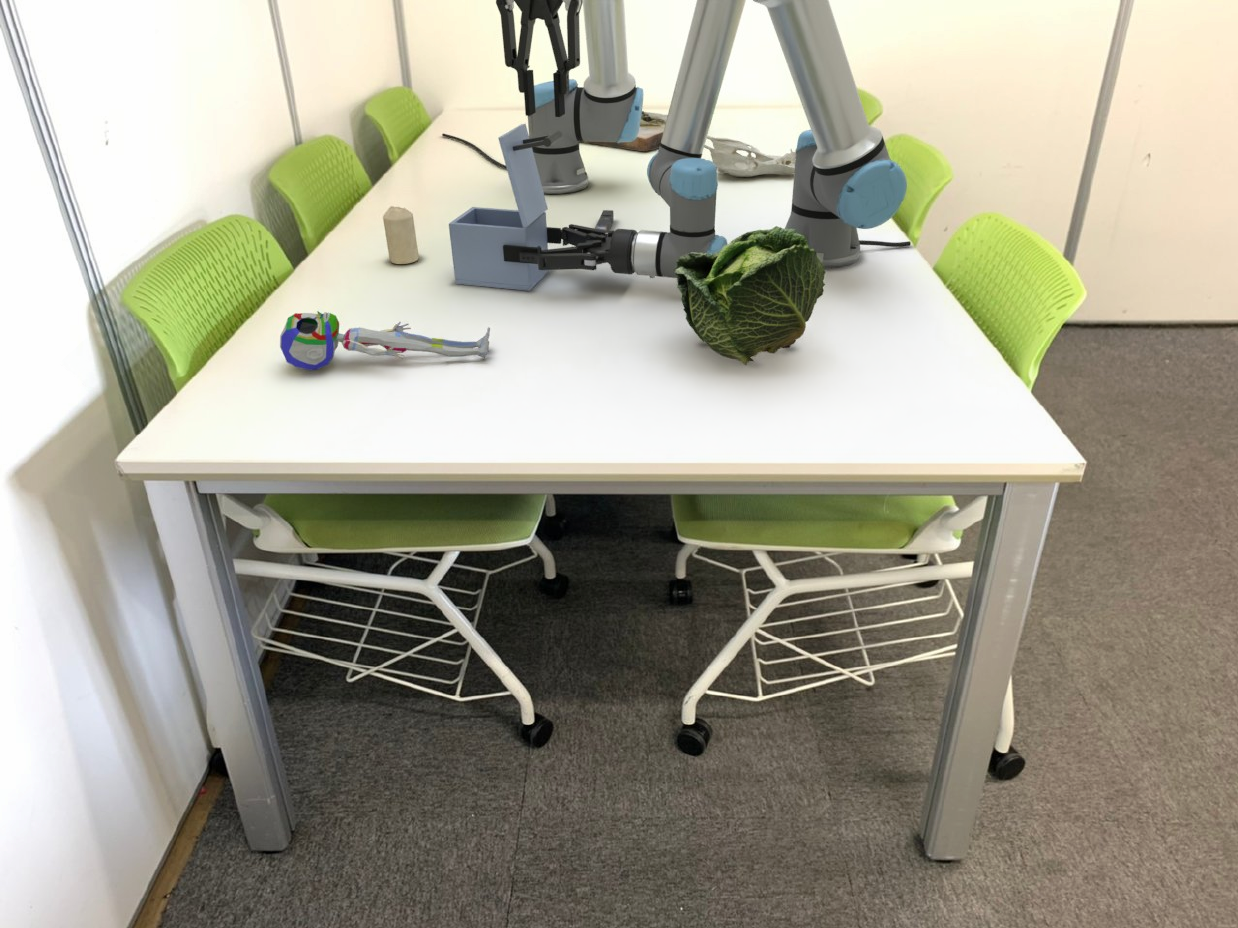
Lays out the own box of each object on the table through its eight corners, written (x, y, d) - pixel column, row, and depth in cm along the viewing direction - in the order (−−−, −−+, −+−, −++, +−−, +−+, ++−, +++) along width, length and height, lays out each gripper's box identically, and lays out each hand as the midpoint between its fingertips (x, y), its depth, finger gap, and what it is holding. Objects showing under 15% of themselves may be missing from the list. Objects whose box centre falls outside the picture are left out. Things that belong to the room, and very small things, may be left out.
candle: (424, 256, 173) (417, 204, 168) (409, 265, 169) (401, 213, 164) (399, 253, 175) (391, 202, 170) (384, 262, 171) (375, 210, 165)
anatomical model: (699, 130, 225) (800, 129, 221) (699, 167, 229) (797, 167, 226) (694, 144, 212) (801, 143, 208) (694, 183, 217) (798, 183, 213)
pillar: (613, 210, 190) (600, 241, 173) (613, 220, 191) (600, 251, 174) (603, 210, 190) (589, 240, 173) (603, 220, 191) (589, 251, 174)
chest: (455, 283, 161) (448, 223, 155) (478, 264, 170) (472, 206, 164) (529, 291, 158) (525, 229, 152) (549, 271, 166) (545, 212, 160)
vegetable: (709, 376, 144) (648, 269, 136) (807, 309, 145) (751, 199, 137) (761, 404, 125) (693, 282, 118) (872, 327, 127) (812, 201, 119)
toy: (489, 339, 129) (271, 322, 124) (486, 391, 133) (275, 376, 129) (491, 312, 137) (286, 295, 133) (487, 362, 142) (290, 347, 137)
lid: (497, 137, 145) (542, 129, 142) (520, 124, 153) (563, 116, 150) (522, 227, 152) (565, 220, 149) (543, 209, 160) (584, 203, 157)
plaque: (647, 125, 237) (559, 112, 252) (647, 153, 241) (560, 139, 256) (706, 107, 258) (622, 97, 273) (705, 133, 262) (622, 121, 277)
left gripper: (471, -49, 133) (486, 117, 145) (584, -49, 129) (589, 122, 141) (491, -51, 139) (504, 108, 151) (599, -52, 135) (603, 112, 147)
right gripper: (618, 297, 147) (492, 285, 152) (652, 252, 165) (539, 243, 171) (617, 253, 143) (488, 242, 148) (652, 211, 161) (536, 203, 167)
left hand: (545, 114), depth 146 cm, fingers open, 4 cm apart
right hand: (515, 243), depth 159 cm, fingers closed on chest, 10 cm apart
